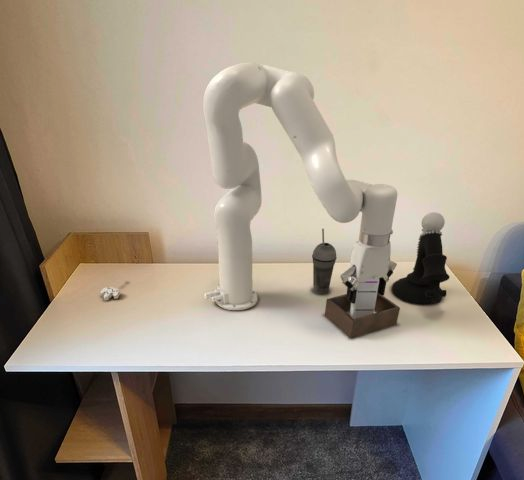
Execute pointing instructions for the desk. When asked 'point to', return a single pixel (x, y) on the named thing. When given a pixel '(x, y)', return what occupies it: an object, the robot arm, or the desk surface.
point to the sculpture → (425, 266)
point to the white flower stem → (110, 293)
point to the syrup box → (365, 298)
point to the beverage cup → (323, 266)
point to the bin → (361, 325)
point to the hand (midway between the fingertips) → (365, 297)
